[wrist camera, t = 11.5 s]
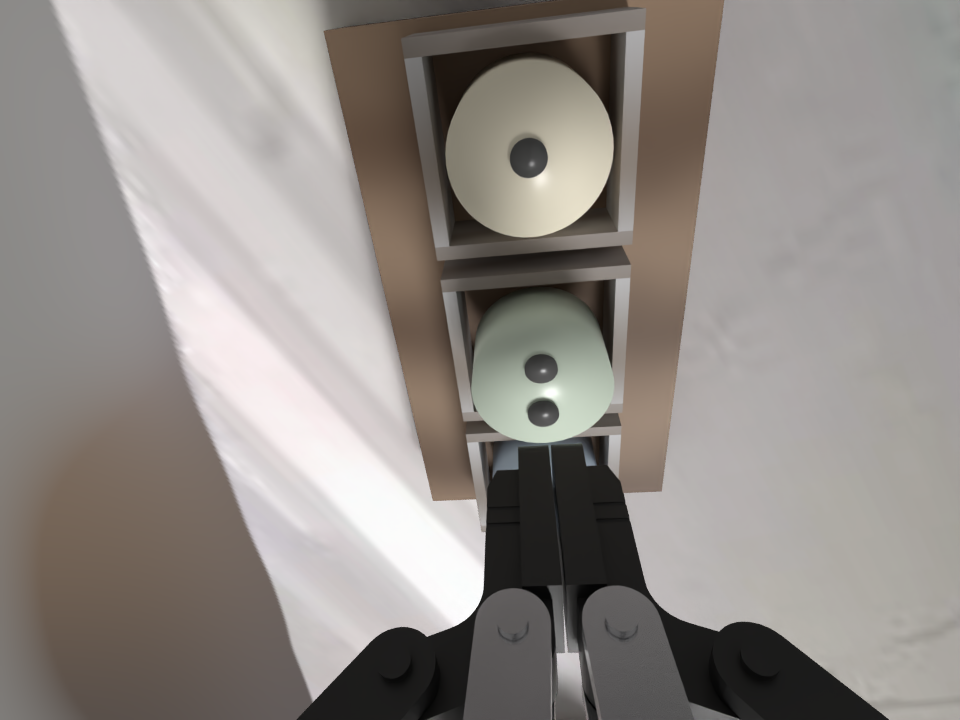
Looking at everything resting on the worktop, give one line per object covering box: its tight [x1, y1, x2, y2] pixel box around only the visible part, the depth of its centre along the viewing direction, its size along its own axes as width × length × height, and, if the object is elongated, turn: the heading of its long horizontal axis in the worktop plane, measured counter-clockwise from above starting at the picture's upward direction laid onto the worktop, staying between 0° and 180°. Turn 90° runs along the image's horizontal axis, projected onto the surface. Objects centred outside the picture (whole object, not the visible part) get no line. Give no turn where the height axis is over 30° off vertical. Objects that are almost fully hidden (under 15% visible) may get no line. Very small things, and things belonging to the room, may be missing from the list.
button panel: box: [324, 0, 724, 532], centre depth 18 cm, size 18×10×4 cm, turn 6°
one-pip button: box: [445, 52, 614, 237], centre depth 14 cm, size 4×4×3 cm
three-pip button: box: [493, 436, 597, 477], centre depth 20 cm, size 4×4×3 cm
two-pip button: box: [471, 287, 614, 443], centre depth 16 cm, size 4×4×3 cm
